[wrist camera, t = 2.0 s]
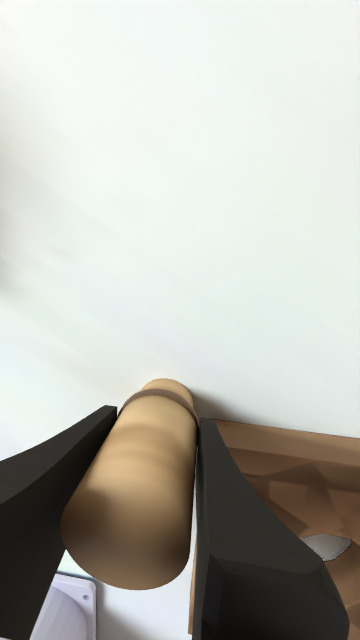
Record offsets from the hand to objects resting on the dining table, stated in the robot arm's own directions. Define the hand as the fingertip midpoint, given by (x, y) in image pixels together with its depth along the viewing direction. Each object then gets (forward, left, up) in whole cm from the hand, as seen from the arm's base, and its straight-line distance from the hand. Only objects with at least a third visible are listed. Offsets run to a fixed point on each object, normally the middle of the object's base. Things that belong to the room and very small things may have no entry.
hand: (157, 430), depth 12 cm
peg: (0, 0, -2) cm, 2 cm away
